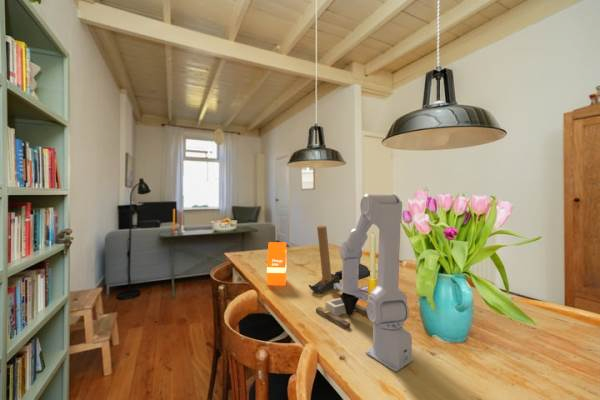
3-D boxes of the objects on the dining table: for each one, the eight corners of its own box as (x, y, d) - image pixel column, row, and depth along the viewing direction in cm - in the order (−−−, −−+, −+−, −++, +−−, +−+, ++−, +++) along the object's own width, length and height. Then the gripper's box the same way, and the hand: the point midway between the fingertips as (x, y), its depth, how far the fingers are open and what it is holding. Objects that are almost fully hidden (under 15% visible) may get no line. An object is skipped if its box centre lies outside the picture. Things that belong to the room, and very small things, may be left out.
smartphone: (367, 287, 124) (396, 296, 113) (358, 290, 119) (388, 300, 108) (367, 285, 124) (396, 294, 113) (358, 288, 119) (388, 298, 108)
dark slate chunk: (330, 276, 140) (330, 267, 140) (352, 268, 156) (352, 260, 155) (354, 283, 129) (354, 274, 129) (375, 274, 145) (376, 265, 145)
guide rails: (375, 316, 93) (375, 311, 93) (345, 329, 84) (345, 323, 84) (344, 302, 105) (344, 298, 105) (315, 312, 96) (315, 307, 96)
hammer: (318, 300, 112) (311, 233, 107) (309, 297, 115) (302, 232, 111) (343, 281, 126) (338, 221, 122) (335, 278, 130) (329, 220, 125)
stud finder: (351, 311, 97) (351, 302, 97) (334, 316, 93) (334, 306, 93) (341, 306, 102) (342, 297, 102) (325, 310, 98) (325, 301, 98)
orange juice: (285, 285, 124) (285, 243, 123) (266, 285, 124) (267, 243, 123) (286, 280, 131) (286, 240, 131) (269, 279, 132) (269, 240, 131)
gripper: (374, 279, 89) (373, 319, 89) (343, 269, 100) (342, 304, 100) (360, 283, 84) (359, 325, 85) (329, 273, 96) (329, 309, 96)
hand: (349, 314), depth 92 cm, fingers closed
